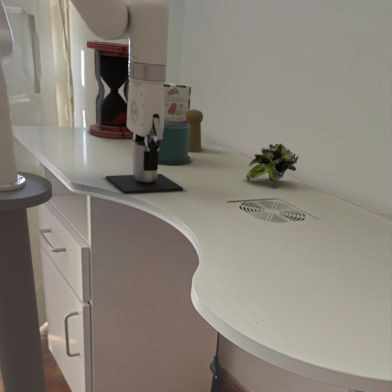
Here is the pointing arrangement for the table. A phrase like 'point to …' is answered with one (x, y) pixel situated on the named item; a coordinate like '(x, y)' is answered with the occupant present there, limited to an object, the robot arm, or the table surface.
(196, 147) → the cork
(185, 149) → the teal short wide cylinder
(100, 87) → the hourglass
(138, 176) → the steel cup
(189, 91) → the candy bar box
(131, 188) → the mat
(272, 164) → the leafy green plant
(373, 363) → the table surface
